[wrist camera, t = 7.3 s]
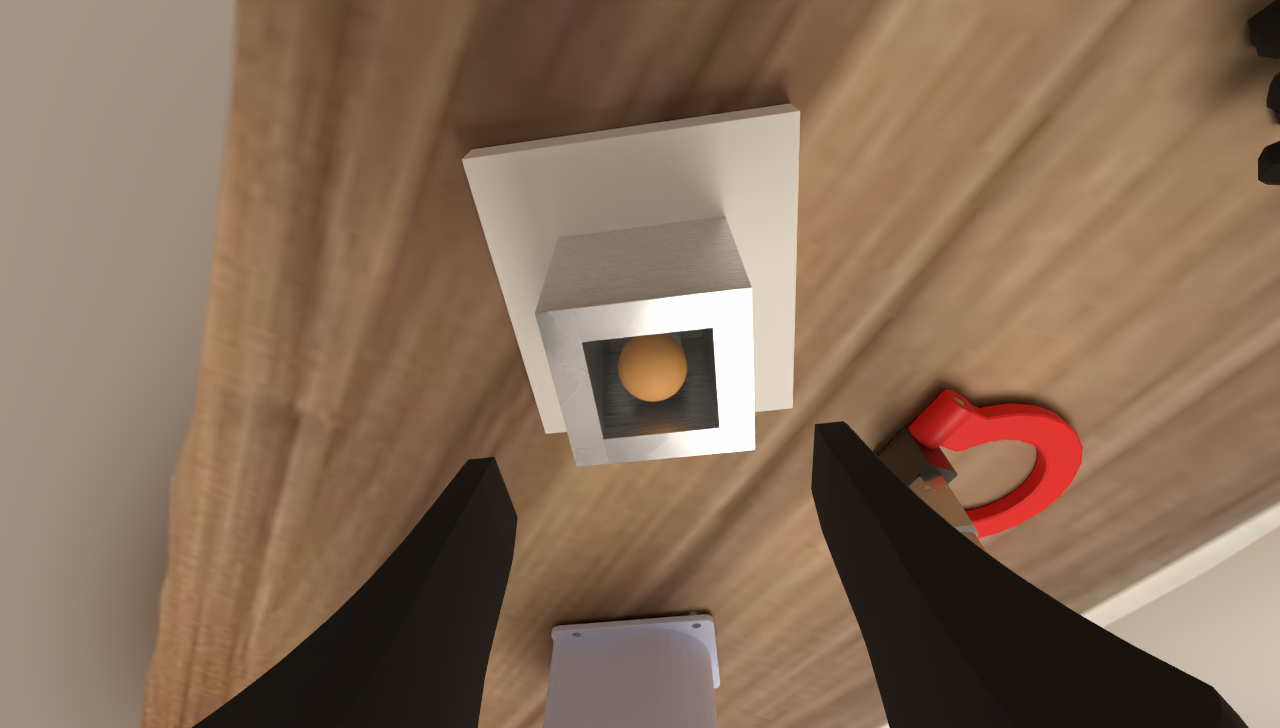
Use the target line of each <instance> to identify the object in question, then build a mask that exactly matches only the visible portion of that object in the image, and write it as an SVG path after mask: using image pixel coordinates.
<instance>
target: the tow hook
mask: <svg viewBox="0 0 1280 728" xmlns="http://www.w3.org/2000/svg"><path fill="white" fill-rule="evenodd" d="M998 440H1020V441H1024V442H1027V443H1030V444H1033V445H1034V446H1036V448H1037V450H1038V457H1037V463H1036V465H1035V468H1034V470H1033V472H1032V473H1031V475H1030V476H1029V477H1028V479H1027V480H1026V481H1025V482H1024V483H1023V484H1022V485H1021V486H1019V487H1018V488H1017V489H1016V490H1015V491H1014V492H1012V493H1010V494H1009V495H1007V496H1006V497H1004V498H1002V499H1001V500H998V501H996V502H994V503H991V504H989V505H987V506H984V507H980V508H976V509H973V510H968V511H965V510H964V509H963V507H962V506H961V504H960V503H959V501H958V499H957V498H956V496H955V495H954V493H953V492H952V490H951V489H950V487H949V486H948V483H949V482H950V481H952V480H953V479H954V478H955V477H956V476H957V473H956V471H955V470H954V468H953V467H952V465H951V464H950V462H949V461H948V459H947V458H946V456H945V455H944V453H943V452H942V451H941V449H940V448H939V446H942V447H945V448H948V449H951V450H954V451H963V450H966V449H968V448H970V447H973V446H976V445H979V444H983V443H986V442H990V441H998ZM878 457H879V458H880V459H881V460H882V461H883V462H884V463H885V465H886V466H887V467H888V468H889V469H890V470H892V471H893V472H894V473H895V474H896V475H897V476H898V477H899V478H900V479H901V480H902V481H903V482H904V483H905V484H906V485H907V486H908V487H909V488H910V489H911V490H912V491H913V492H915V493H916V494H917V495H918V496H919V497H920V498H921V499H922V500H923V501H924V502H925V503H927V504H928V505H929V506H930V507H931V508H932V509H933V510H935V511H936V512H937V513H938V514H939V515H940V516H942V517H943V518H944V519H945V520H946V521H947V522H949V523H950V524H951V525H952V526H953V527H955V528H956V529H957V530H958V531H959V532H961V533H962V534H963V535H964V536H966V537H967V538H968V539H969V540H971V541H972V542H973V543H974V544H976V545H977V546H978V547H980V548H981V549H982V550H984V551H985V549H984V548H983V546H982V544H981V543H980V541H979V540H978V538H981V537H985V536H989V535H992V534H996V533H999V532H1002V531H1004V530H1007V529H1009V528H1011V527H1014V526H1016V525H1019V524H1021V523H1023V522H1024V521H1026V520H1028V519H1030V518H1031V517H1033V516H1035V515H1036V514H1038V513H1040V512H1041V511H1043V510H1044V509H1045V508H1046V507H1048V506H1049V505H1050V504H1051V503H1053V502H1054V501H1055V500H1056V499H1057V498H1059V497H1060V496H1061V494H1062V493H1063V492H1064V491H1065V490H1066V488H1067V487H1068V486H1069V485H1070V484H1071V482H1072V481H1073V479H1074V477H1075V475H1076V473H1077V471H1078V469H1079V467H1080V465H1081V460H1082V444H1081V442H1080V440H1079V437H1078V435H1077V432H1076V431H1075V430H1074V429H1073V428H1072V427H1071V426H1070V425H1069V424H1068V423H1067V422H1065V421H1064V420H1063V419H1062V418H1061V417H1059V416H1058V415H1057V414H1056V413H1055V412H1053V411H1050V410H1047V409H1044V408H1041V407H1039V406H1036V405H1026V404H1012V403H1009V404H1002V405H994V406H987V407H982V408H978V407H976V406H973V405H971V404H970V402H969V401H967V400H966V399H965V398H964V397H963V396H961V395H960V394H958V393H956V392H955V391H952V390H950V389H945V390H944V391H943V392H942V393H941V394H940V395H939V396H938V397H937V398H936V399H935V400H934V401H933V402H932V403H931V404H930V405H929V406H928V407H927V408H926V409H925V410H924V411H923V412H922V413H921V414H920V416H919V417H918V418H917V419H916V420H915V421H914V422H913V423H912V424H911V425H907V426H905V427H904V428H903V429H902V430H901V431H900V432H899V433H898V435H897V436H896V437H895V438H894V439H893V440H892V441H891V442H890V443H889V444H888V445H887V446H886V447H885V448H884V449H883V450H882V451H881V452H880V453H879V454H878ZM985 552H986V551H985ZM986 553H987V552H986Z"/></svg>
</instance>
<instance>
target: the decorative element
mask: <svg viewBox="0 0 1280 728" xmlns="http://www.w3.org/2000/svg"><path fill="white" fill-rule="evenodd" d="M1248 21H1249V24H1250V28H1251V32H1252V36H1253V40H1254V43H1255V47H1256V50H1257V53H1258V56H1263V57H1270V58H1280V0H1276V1H1274V2H1273V3H1271V4H1270V5H1269V6H1267V7H1266V8H1265V9H1263V10H1262V11H1260V12H1259V13H1258V14H1256V15H1255V16H1253V17H1252V18H1251V19H1249V20H1248ZM1267 107H1269V108H1271V109H1274V110H1275V113H1276V115H1277V118H1278V121H1279V124H1280V72H1279V73H1278V74H1277V75H1275V76H1274V78H1273V80H1272V82H1271V84H1270V87H1269V92H1268V96H1267ZM1258 180H1259V181H1261V182H1263V183H1265V184H1268V185H1280V141H1278V142H1276V143H1274V144H1271V145H1269V146H1267V147H1265V148H1264V149H1263V151H1262V153H1261V155H1260V157H1259V158H1258Z"/></svg>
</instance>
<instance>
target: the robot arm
mask: <svg viewBox="0 0 1280 728" xmlns="http://www.w3.org/2000/svg"><path fill="white" fill-rule="evenodd" d="M811 490H812V494H813V498H814V502H815V506H816V510H817V514H818V517H819V521H820V525H821V528H822V532H823V535H824V537H825V540H826V543H827V545H828V548H829V550H830V553H831V556H832V558H833V561H834V563H835V566H836V568H837V571H838V573H839V576H840V578H841V581H842V584H843V586H844V589H845V591H846V594H847V596H848V599H849V601H850V604H851V606H852V609H853V611H854V614H855V616H856V619H857V622H858V624H859V627H860V629H861V632H862V635H863V638H864V641H865V644H866V647H867V650H868V653H869V656H870V660H871V663H872V667H873V670H874V674H875V677H876V681H877V684H878V687H879V691H880V694H881V698H882V701H883V705H884V709H885V712H886V716H887V720H888V723H889V727H890V728H1248V726H1247V725H1246V724H1245V723H1244V721H1243V720H1242V719H1241V718H1240V716H1239V715H1238V714H1237V713H1236V712H1235V711H1234V710H1233V708H1232V707H1231V706H1230V705H1229V704H1228V703H1227V702H1226V701H1225V700H1224V699H1223V697H1222V696H1221V695H1220V694H1219V693H1218V692H1217V691H1216V690H1215V689H1214V688H1213V687H1212V686H1210V685H1208V684H1207V683H1205V682H1202V681H1201V680H1199V679H1197V678H1195V677H1193V676H1191V675H1189V674H1187V673H1185V672H1183V671H1181V670H1179V669H1178V668H1175V667H1174V666H1172V665H1170V664H1168V663H1166V662H1164V661H1162V660H1160V659H1158V658H1156V657H1154V656H1152V655H1150V654H1149V653H1147V652H1145V651H1143V650H1141V649H1139V648H1137V647H1135V646H1133V645H1131V644H1130V643H1128V642H1126V641H1124V640H1122V639H1121V638H1119V637H1117V636H1115V635H1114V634H1112V633H1110V632H1108V631H1107V630H1105V629H1103V628H1102V627H1100V626H1098V625H1096V624H1095V623H1093V622H1091V621H1089V620H1088V619H1086V618H1084V617H1083V616H1081V615H1079V614H1078V613H1076V612H1074V611H1073V610H1071V609H1069V608H1068V607H1066V606H1065V605H1063V604H1062V603H1060V602H1059V601H1057V600H1055V599H1054V598H1052V597H1051V596H1049V595H1048V594H1046V593H1045V592H1043V591H1041V590H1040V589H1038V588H1037V587H1035V586H1034V585H1032V584H1031V583H1029V582H1027V581H1026V580H1024V579H1023V578H1021V577H1020V576H1018V575H1017V574H1016V573H1014V572H1013V571H1011V570H1010V569H1008V568H1007V567H1006V566H1004V565H1003V564H1001V563H1000V562H998V561H997V560H996V559H994V558H993V557H992V556H990V555H989V554H988V553H986V552H985V551H984V550H982V549H981V548H980V547H978V546H977V545H976V544H974V543H973V542H972V541H971V540H969V539H968V538H967V537H966V536H964V535H963V534H962V533H961V532H959V531H958V530H957V529H956V528H955V527H953V526H952V525H951V524H950V523H949V522H947V521H946V520H945V519H944V518H943V517H942V516H940V515H939V514H938V513H937V512H936V511H935V510H933V509H932V508H931V507H930V506H929V505H928V504H927V503H925V502H924V501H923V500H922V499H921V498H920V497H919V496H918V495H917V494H916V493H915V492H913V491H912V490H911V489H910V488H909V487H908V486H907V485H906V484H905V483H904V482H903V481H902V480H901V479H900V478H899V477H898V476H897V475H896V474H895V473H894V472H893V471H892V470H890V469H889V468H888V467H887V466H886V465H885V463H884V462H883V461H882V460H881V459H880V458H879V457H878V456H877V455H876V454H875V453H874V452H873V451H872V450H871V449H870V448H869V447H868V446H867V445H866V444H865V443H864V442H863V441H862V440H861V438H860V437H859V436H858V435H857V434H856V433H855V432H854V431H853V430H852V429H851V428H850V426H849V425H847V424H846V423H845V422H844V421H842V422H832V423H823V424H815V434H814V451H813V469H812V487H811ZM516 527H517V514H516V512H515V509H514V507H513V504H512V501H511V499H510V496H509V494H508V491H507V489H506V486H505V483H504V481H503V478H502V476H501V473H500V471H499V468H498V465H497V463H496V460H495V458H494V457H489V458H480V459H470V460H468V461H467V462H466V463H465V465H464V466H463V467H462V468H461V470H460V471H459V472H458V473H457V474H456V476H455V477H454V478H453V480H452V481H451V482H450V483H449V485H448V486H447V487H446V489H445V490H444V491H443V492H442V494H441V495H440V496H439V498H438V499H437V500H436V501H435V503H434V504H433V505H432V506H431V508H430V509H429V510H428V511H427V513H426V514H425V515H424V516H423V518H422V519H421V520H420V521H419V523H418V524H417V525H416V526H415V527H414V529H413V530H412V531H411V532H410V534H409V535H408V536H407V537H406V538H405V540H404V541H403V542H402V543H401V544H400V545H399V546H398V548H397V549H396V550H395V551H394V552H393V553H392V554H391V556H390V557H389V558H388V559H387V560H386V561H385V562H384V563H383V565H382V566H381V567H380V568H379V569H378V570H377V571H376V572H375V574H374V575H373V576H372V577H371V578H370V579H369V580H368V581H367V582H366V583H365V584H364V585H363V586H362V587H361V588H360V589H359V590H358V591H357V592H356V593H355V594H354V595H353V596H352V597H351V598H350V599H349V600H348V601H347V602H346V603H345V604H344V605H343V606H342V607H341V608H340V609H339V610H338V611H337V612H336V613H335V614H333V615H332V616H331V617H330V618H329V619H328V620H327V621H326V622H325V623H324V624H322V625H321V626H320V627H319V628H318V629H317V630H316V631H314V632H313V633H312V634H311V635H310V636H309V637H308V638H306V639H305V640H304V641H303V642H302V643H301V644H300V645H298V646H297V647H296V648H295V649H294V650H293V651H292V652H290V653H289V654H288V655H287V656H286V657H285V658H283V659H282V660H281V661H280V662H279V663H277V664H276V665H275V666H274V667H272V668H271V669H270V670H269V671H267V672H266V673H265V674H264V675H262V676H261V677H260V678H259V679H257V680H256V681H255V682H253V683H252V684H251V685H250V686H248V687H247V688H246V689H244V690H243V691H242V692H240V693H239V694H238V695H236V696H235V697H234V698H233V699H231V700H230V701H228V702H227V703H226V704H224V705H223V706H222V707H220V708H219V709H218V710H216V711H215V712H213V713H212V714H211V715H209V716H208V717H206V718H205V719H203V720H202V721H201V722H199V723H198V724H196V725H195V726H193V727H192V728H478V721H479V714H480V707H481V701H482V694H483V687H484V680H485V674H486V670H487V665H488V660H489V655H490V651H491V647H492V643H493V639H494V635H495V631H496V627H497V622H498V618H499V614H500V610H501V606H502V602H503V598H504V594H505V590H506V586H507V582H508V577H509V573H510V569H511V565H512V560H513V553H514V545H515V537H516ZM551 636H552V639H553V641H554V644H553V652H552V660H551V668H550V676H549V683H548V691H547V699H546V707H545V715H544V723H543V728H718V721H717V711H716V702H715V693H714V688H718V687H719V686H720V677H719V668H718V658H717V649H716V640H715V631H714V621H713V617H712V616H710V615H707V614H701V615H688V616H675V617H663V618H650V619H637V620H624V621H611V622H599V623H586V624H573V625H560V626H555V627H554V628H553V629H552V633H551Z"/></svg>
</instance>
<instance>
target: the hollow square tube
mask: <svg viewBox="0 0 1280 728" xmlns="http://www.w3.org/2000/svg"><path fill="white" fill-rule="evenodd" d="M535 316H536V320H537V323H538V327H539V331H540V334H541V338H542V342H543V346H544V349H545V353H546V357H547V360H548V364H549V368H550V371H551V375H552V379H553V382H554V386H555V390H556V393H557V397H558V401H559V404H560V408H561V412H562V415H563V419H564V423H565V426H566V430H567V434H568V437H569V441H570V445H571V448H572V452H573V456H574V459H575V463H576V467H583V466H593V465H603V464H614V463H624V462H634V461H645V460H655V459H665V458H676V457H686V456H697V455H707V454H717V453H728V452H738V451H748V450H755V423H754V370H753V317H752V286H751V284H750V281H749V278H748V276H747V273H746V270H745V268H744V265H743V262H742V259H741V257H740V254H739V251H738V249H737V246H736V243H735V240H734V238H733V235H732V232H731V230H730V227H729V224H728V222H727V219H726V216H722V217H714V218H707V219H699V220H691V221H683V222H675V223H667V224H659V225H651V226H644V227H636V228H628V229H620V230H612V231H604V232H596V233H588V234H581V235H573V236H565V237H558V240H557V243H556V247H555V250H554V253H553V256H552V259H551V263H550V266H549V269H548V272H547V275H546V279H545V282H544V285H543V288H542V291H541V295H540V298H539V301H538V304H537V307H536V311H535ZM695 329H703V337H697V338H688V339H681V344H682V349H683V351H684V353H685V355H686V359H687V375H686V378H685V381H684V383H683V385H682V386H681V388H680V389H679V390H678V391H677V392H676V393H675V394H674V395H672V396H671V397H669V398H667V399H665V400H661V401H655V402H651V401H644V400H641V399H639V398H637V397H635V396H633V395H632V394H631V393H629V392H628V391H627V389H626V388H625V387H624V385H623V384H622V382H621V380H620V376H619V372H618V362H619V357H620V354H621V352H622V346H616V347H610V342H609V339H615V338H624V337H633V336H642V335H651V334H659V333H668V332H677V331H686V330H695Z"/></svg>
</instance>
